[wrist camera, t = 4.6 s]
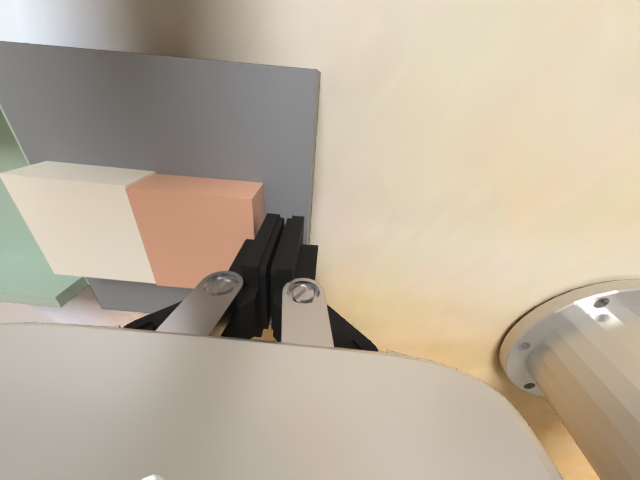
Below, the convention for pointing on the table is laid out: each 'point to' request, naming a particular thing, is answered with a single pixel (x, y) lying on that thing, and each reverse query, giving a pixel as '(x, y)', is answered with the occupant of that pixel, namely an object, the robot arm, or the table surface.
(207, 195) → the terracotta tile
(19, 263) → the bin
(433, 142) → the table surface
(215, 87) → the slate board
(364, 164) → the table surface
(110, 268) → the cream tile
